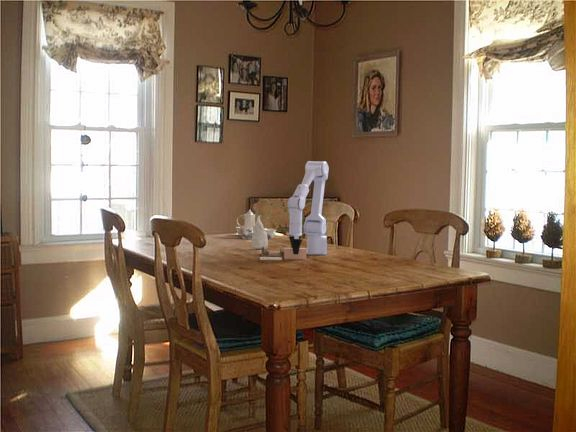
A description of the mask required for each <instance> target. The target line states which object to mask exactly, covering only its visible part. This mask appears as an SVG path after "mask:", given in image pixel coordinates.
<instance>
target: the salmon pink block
mask: <svg viewBox="0 0 576 432" xmlns="http://www.w3.org/2000/svg"><path fill="white" fill-rule="evenodd" d="M283 250H284V257H283V259H284V260H305V261H306V260H307V254H306V251H307V247H300V248H299V253H298V254H293V249H292V248H291V247H287V248H283Z"/></svg>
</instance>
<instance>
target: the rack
mask: <svg viewBox="0 0 576 432" xmlns="http://www.w3.org/2000/svg"><path fill="white" fill-rule="evenodd" d="M284 248H288V247H284ZM284 248H280V249H279V252H270V250H269V248H265V249H264V247H262V249H261V257H282V258H284Z"/></svg>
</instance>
